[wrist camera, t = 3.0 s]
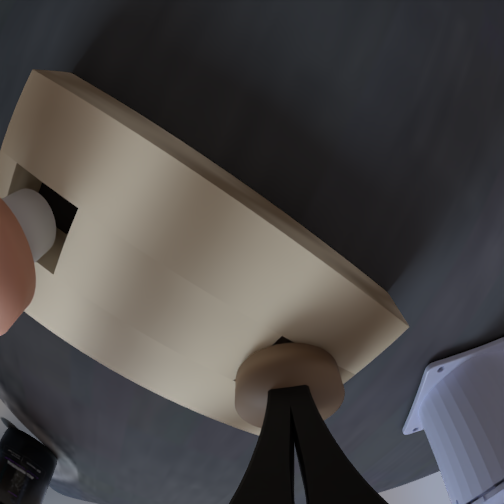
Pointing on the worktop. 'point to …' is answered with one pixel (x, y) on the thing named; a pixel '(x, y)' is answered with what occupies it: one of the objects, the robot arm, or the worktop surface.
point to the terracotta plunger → (21, 250)
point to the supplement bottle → (24, 468)
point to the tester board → (176, 255)
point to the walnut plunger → (287, 378)
